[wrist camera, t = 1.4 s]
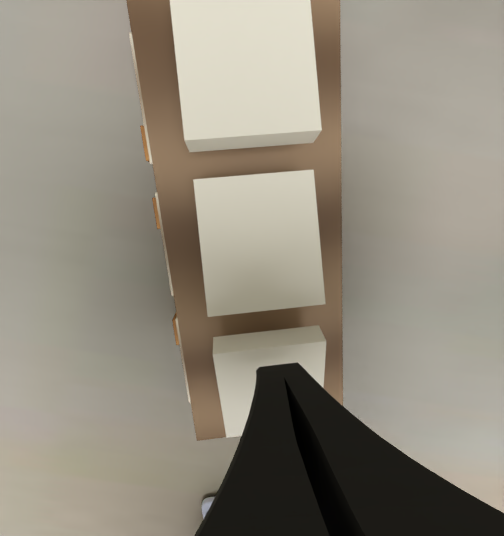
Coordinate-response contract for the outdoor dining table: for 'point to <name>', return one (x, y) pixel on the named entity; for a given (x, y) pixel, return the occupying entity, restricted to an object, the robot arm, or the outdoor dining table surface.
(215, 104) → the switch
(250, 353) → the switch
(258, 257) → the switch
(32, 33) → the outdoor dining table surface
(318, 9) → the switch unit
